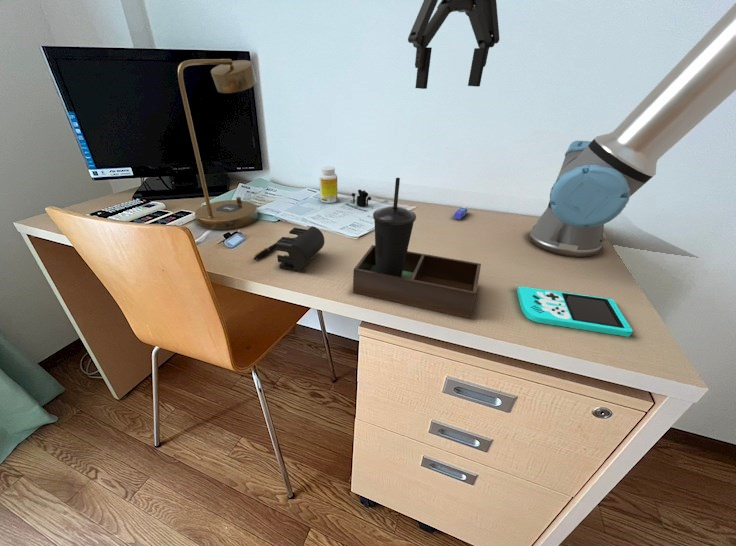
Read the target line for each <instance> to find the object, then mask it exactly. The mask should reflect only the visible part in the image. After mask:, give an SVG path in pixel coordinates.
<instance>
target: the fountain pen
mask: <svg viewBox="0 0 736 546" xmlns="http://www.w3.org/2000/svg"><path fill="white" fill-rule="evenodd" d="M286 237H287V238H291V236H286ZM275 249H276V242H274V243H273V244H272V245H270V246H269V247H268V246H267V247H263V248H261V250H259V251H258V252H256V253H255V254H254V255H253V260H254V261H257V260H259V259H262V258H263V257H265V256H267V255H268V254H270V253H271V252H272V251H274V250H275Z"/></svg>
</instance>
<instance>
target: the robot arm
mask: <svg viewBox="0 0 736 546" xmlns="http://www.w3.org/2000/svg"><path fill="white" fill-rule="evenodd" d="M438 2H439V0H423V1H422V4H421V5H420V8H419V10H418V13H417V16H416V18H415V20H414V23H413V25H412V28H411V30H410V33H409V34H408V37H407V42H408V43H409V44H412V46H413V47H414V48H415V49H416V51H415V60H414V61H415V62H414V67H415V69H416V78H415V89H420V90H427V88H428V82H429V73H430V67H431V66H430V65H431V58H432V49H433V47H431V46H429V45H430V43H431V42H432V40H433V39H434V37H435V36H436V35H437V33H438V31H439V30H440V28H441V27H442V25H443V24H444V23H445V21H446V19H447V18H448V16H449V15H450V14H451V13H454V12H457V13H464V14H465V15H466V16H467V17H468V19H469V24H470V26H471V28H472V32H473V34H474V38H475V40H476V44H477V46H478V47H474V48H473V49H474V50H473V55H472V60H471V66H470V71H469V77H468V83H467V87H480V86H481V82H482V78H483V77H482V76H483V72H484V68H485V67H486V65H487V60H488V55H489V51H490V48H493V47H494V46H495V45H496V44H498V43H499V42H500V30H499V19H498V18H499V17H498V16H499V15H498V5H497V0H441V1H440V2H439V4H438ZM437 4H438V5H437ZM435 8H436V11H435ZM434 11H435V12H434ZM428 46H429V47H428ZM735 91H736V2H735V3H734V4H733V5H732V6H731V7H730V8H729V9H728V10H727V11H726V12H725V14H723V15H722V16H721V18H719V20H718V21H716V23H715V24H714V25H713V26H712V27H710V29H709V30H708V31H707V33H705V34H704V35H703V36H702V38H701V39H699V41H698V42H697V43H696V44H695V45H693V47H692V48H691V49H690V50H689V51H688V52H687V53H686V55H684V56H683V58H681V59H680V61H678V63H677V64H676V65H675V66H674V67H673V68H672V69H670V71H669V72H668V73H667V74H666V75H665V76H664V77H663V78H662V80H661V81H660V82H659V83H658V84H656V86H654V88H653V89H652V90H651V91H650V92H649V93H648V94H647V95H646V96H645V97H644V98H643V99H642V100H641V102H640V103H639V104H637V106H635V108H633V110H632V111H631V112H630V113H629V114H628V115H627V116H626V117H625V118H624V119H623V120H622V122H620V123H619V125H617V126H616V128H615V129H614V130H613V131H611V132H609V133H605V134H600V135H597V136H595V137H594V139H592V140H574V141H572V142H571V143H570V144H569V146H568V148H567V150H566V151H565V153H564V158H563V162H562V164H561V168H560V170H559V173H558V175H557V178H556V180H555V181H554V183H553V185H552V187H551V189H550V193H549V201H548V205H547V207H546V209H545V210H544V212H543V213H542V214H541V216H540V217H539V219H538V220H537V222H536V223H535V224H534V225H533V226H532V227H531V229H530V231H529V234H528V239H529V241H530V242H531V244H532V245H534V246H535V247H538V248H539V249H541V250H544V251H547V252H549V253H553V254H556V255H561V256H565V257H573V258H575V257H576V258H586V257H593V256H595V255H597V254H598V253H600V251H601V249H602V247H603V244H604V239H603V238H604V229H605V228H604V227H605V224H607V223H609V222H611V221H613V220H614V219H615V218H617V217H618V216H619V215H620V214H621V213H622V212H623V210H624V209H625V208H626V207H627V204H628V203H629V201H630V198H631V197H632V196H633V195H634V194H635V193H636V192H637V191H639V189H641V188H642V187H644V185H645V184H646V183H648V182H649V181H650V180H651V179H652V178H653V177H654V176H656V174H657V163H658V161H659V159H661V158H662V156H664V155H665V154H666V153H667V152H669V150H671V149H672V148H673V147H674V146H675V145H676V144H677V143H679V142H680V141H681V140H682V139H683V138H684V137H685V136H687V134H689V133H690V132H691V131H692V130H693V129H694V128H695V127H696V126H698V125H699V124H700V123H701V122H702V121H703V120H704V119H706V117H707V116H709V115H710V114H711V113H712V112H713V111H715V110H716V109H717V108H718V107H719V106H720V105H721V104H722V103H723V102H724V101H725V100H727V99H728V98H729V97H730V96H731V95H732V94H733V93H734V92H735Z"/></svg>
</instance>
